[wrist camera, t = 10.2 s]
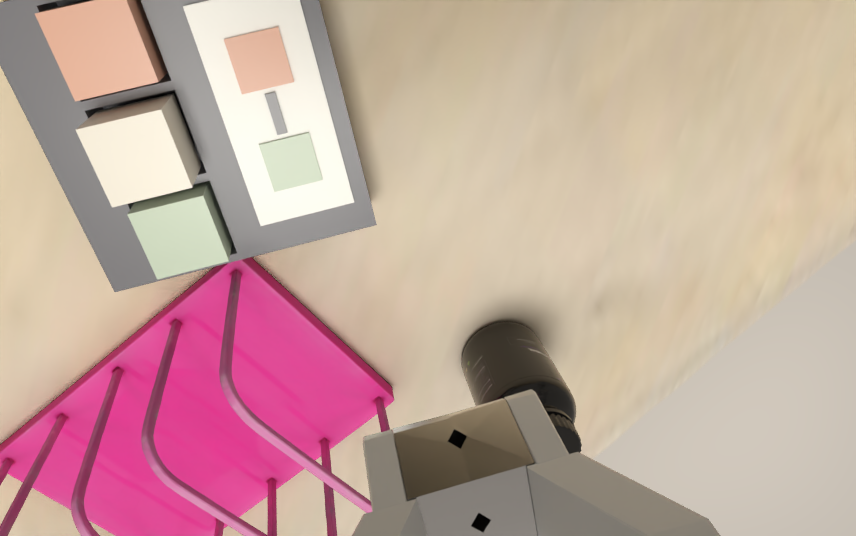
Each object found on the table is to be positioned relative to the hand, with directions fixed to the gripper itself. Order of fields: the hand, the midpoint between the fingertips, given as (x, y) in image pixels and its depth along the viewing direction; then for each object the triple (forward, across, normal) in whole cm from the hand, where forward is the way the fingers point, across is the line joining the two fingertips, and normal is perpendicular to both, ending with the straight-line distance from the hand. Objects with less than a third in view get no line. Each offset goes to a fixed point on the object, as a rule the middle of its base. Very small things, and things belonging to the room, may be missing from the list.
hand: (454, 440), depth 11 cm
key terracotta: (+33, +11, -5) cm, 35 cm away
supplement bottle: (+34, -7, +25) cm, 43 cm away
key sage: (+33, +11, +6) cm, 35 cm away
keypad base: (+34, +8, 0) cm, 35 cm away
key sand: (+31, +11, 0) cm, 33 cm away
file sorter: (+34, +17, +23) cm, 45 cm away
